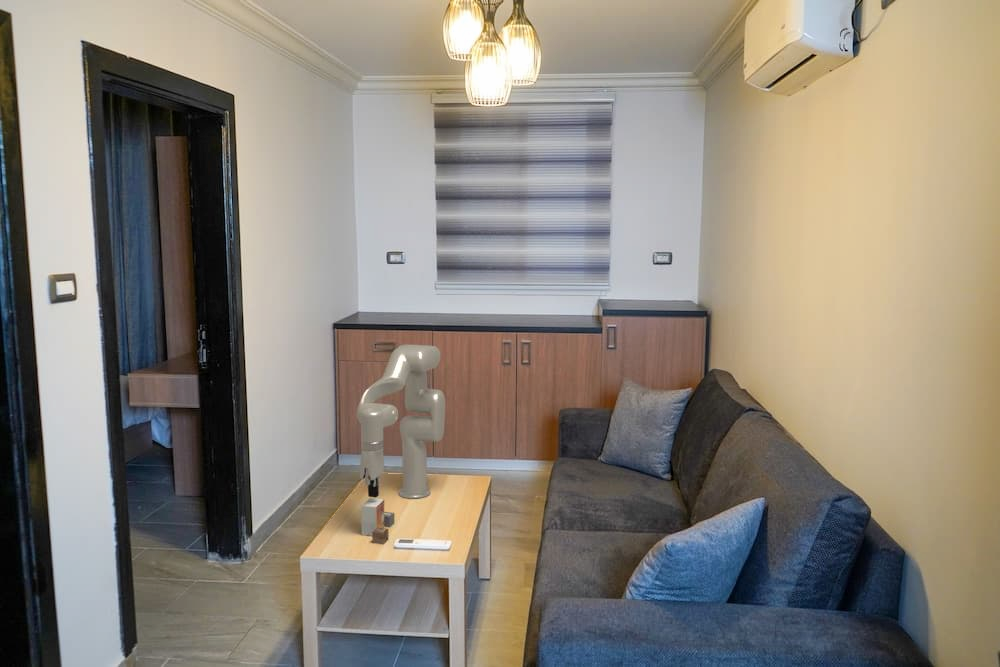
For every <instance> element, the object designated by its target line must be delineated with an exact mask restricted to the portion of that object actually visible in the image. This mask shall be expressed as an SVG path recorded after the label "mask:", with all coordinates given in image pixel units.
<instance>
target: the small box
mask: <svg viewBox="0 0 1000 667" xmlns="http://www.w3.org/2000/svg"><path fill="white" fill-rule="evenodd" d="M360 508H361V510H360V511H361V513H360V516H361V517H360V518H361V535H362V536H371V537H372V532H373V531H374V530H375V529H376V528H377V527H378V528H385V527H384V512H385V499H382V498H373V497H369V498H368V499H367V501H365V502H364V503H363V504H362V505H361V506H360Z"/></svg>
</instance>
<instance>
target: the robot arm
mask: <svg viewBox="0 0 1000 667" xmlns="http://www.w3.org/2000/svg"><path fill="white" fill-rule="evenodd" d="M440 351H441V350H440V349H439V348H438V347H437V346H435V345H427V344H425V345H422V344H401V345H399V346H398V347H396V348H395V349H393V351H392V352H391V355H390V357H389V360H388V362H387V364H386V368H385V370H384V372H383V375H382V377H381V379H378V380H377V381H376V382H374V383H373V384H371V385H370V386H369V387H368V388H367V389H366V390H365V391H364V392H363V393H362V396H361V398H360V400H359V404H358V406H357V408H356V409H357V410H356V419H357V420H358V422H359V423H360V435H361V436H360V439H361V440H360V444H361V446H360V447H361V453H360V461H359V462H360V464H359V465H360V466H359V479H360V480H363V479H364V485H367V494H368V497H369V498H374V499H377V498H378V497H379V496H380V494H379V493H380V490H379V489H380V488H379V484H380V477H381V476H382V474H383V473H384V471H385V459H384V446H385V445H384V443H385V442H384V428H386V427H391V426H392V425H394V424H395V423H396V422H397V420H398V418H399V410H398V408H397V407H396V406H395V405H393V404H387V403H379V402H378V403H375V402H376V401H377V400H379V399H380V398H383V397H385V396H389V395H391V394H394V393H397V392H399V391H401V390H403V389H404V387H405V389H404V390H405V391H404V392H405V393H404V405H405V410H407V411H408V412H411V413H419V414H420V413H422V414H430V416H425V415H424V416H423V415H414V414H413V415H412V414H410V415H406V416H403V418H402V419H401V420H400V422H399V432H400V439H401V446H402V447H401V448H402V457H401V458H402V487H401V488H400V489H398V495H399V496H400V497H402V498H405V499H421V498H422V499H423V498H426V497H428V496H430V495H431V492H432V491H431V489H430V488H429V487H428V486H427V485H428V484H427V483H428V482H429V478H428V477H427V474H428V473H427V467H428V466H427V465H428V464H427V463H428V462H427V461H428V460H427V459H428V458H427V448H426V446H425V444H424V442H440V441H441V440H442V439H443V437H444V433H445V425H446V424H445V423H446V422H445V421H446V396H445V393H444V391H442V390H440V389H435V388H428V373H427V372H426V371H429V370H430V371H431V370H432V369H435V368H436V367H438V365H439V364H440V360H441V352H440Z"/></svg>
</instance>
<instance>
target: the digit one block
mask: <svg viewBox="0 0 1000 667" xmlns="http://www.w3.org/2000/svg"><path fill="white" fill-rule="evenodd" d="M394 525H395V512H390V511H384V528H388V529H389V528H391V527H392V526H394Z"/></svg>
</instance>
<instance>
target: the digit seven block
mask: <svg viewBox="0 0 1000 667" xmlns="http://www.w3.org/2000/svg"><path fill="white" fill-rule="evenodd" d="M371 537H372V540H371V541H372V542H371V543H372V544H378V545H385V544H386V543H387V542H388V541H389V528H387V527H384V528H378V527H377V528H376V529H375V530H374V531H373V532H372V536H371Z"/></svg>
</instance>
